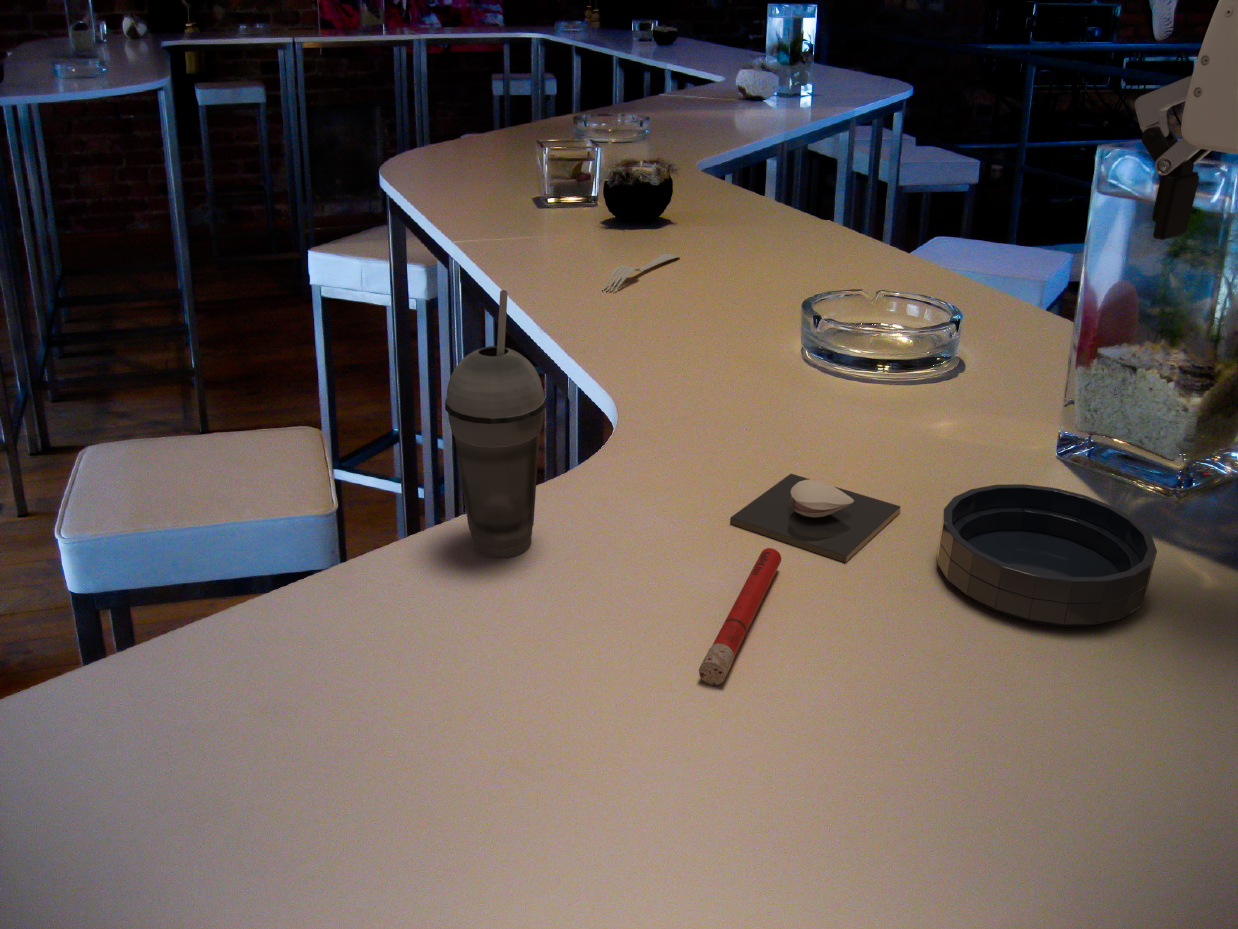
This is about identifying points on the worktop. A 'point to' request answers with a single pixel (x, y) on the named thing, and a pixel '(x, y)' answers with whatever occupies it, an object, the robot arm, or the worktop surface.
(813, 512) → the clam shell
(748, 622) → the flare
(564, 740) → the worktop surface
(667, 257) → the fork
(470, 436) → the beverage cup
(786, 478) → the coaster
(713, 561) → the worktop surface
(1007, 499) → the bowl
